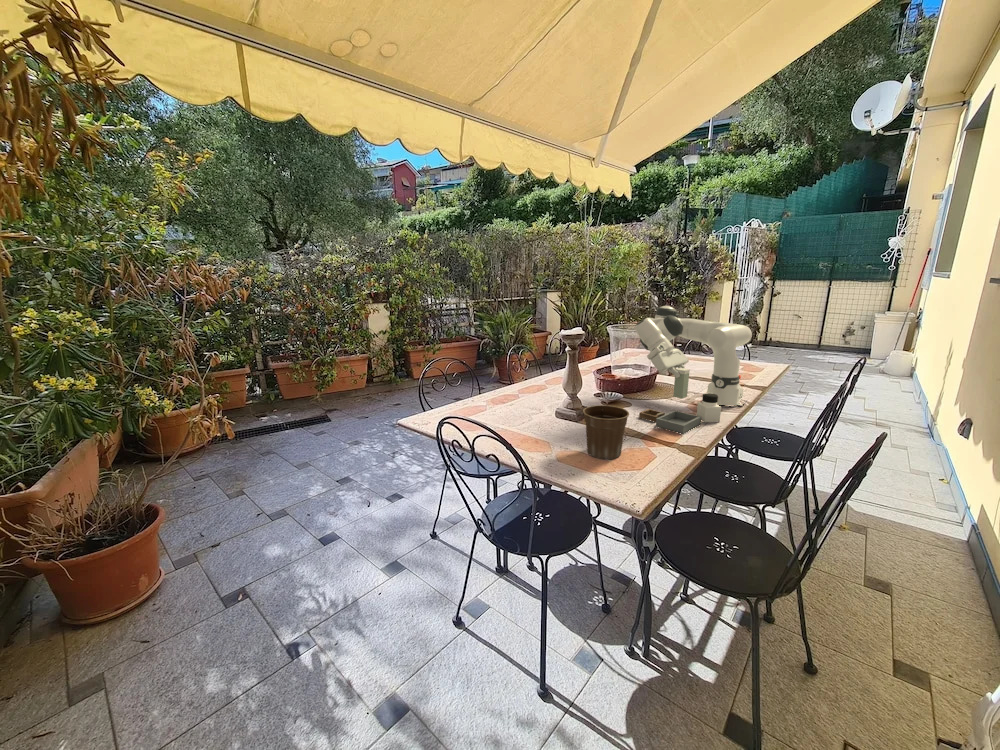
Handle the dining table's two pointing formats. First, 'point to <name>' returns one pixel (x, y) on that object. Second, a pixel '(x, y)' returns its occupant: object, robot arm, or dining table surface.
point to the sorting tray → (678, 421)
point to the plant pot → (605, 430)
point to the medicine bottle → (709, 408)
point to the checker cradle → (650, 414)
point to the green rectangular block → (681, 383)
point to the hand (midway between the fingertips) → (682, 375)
